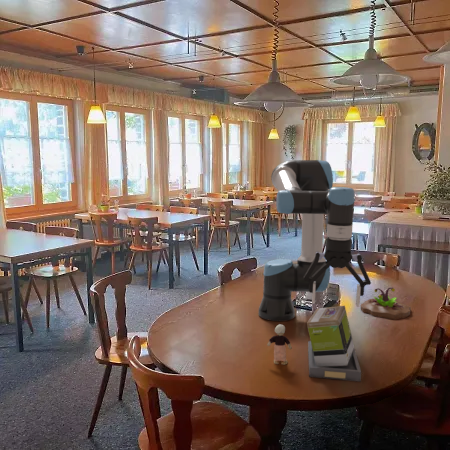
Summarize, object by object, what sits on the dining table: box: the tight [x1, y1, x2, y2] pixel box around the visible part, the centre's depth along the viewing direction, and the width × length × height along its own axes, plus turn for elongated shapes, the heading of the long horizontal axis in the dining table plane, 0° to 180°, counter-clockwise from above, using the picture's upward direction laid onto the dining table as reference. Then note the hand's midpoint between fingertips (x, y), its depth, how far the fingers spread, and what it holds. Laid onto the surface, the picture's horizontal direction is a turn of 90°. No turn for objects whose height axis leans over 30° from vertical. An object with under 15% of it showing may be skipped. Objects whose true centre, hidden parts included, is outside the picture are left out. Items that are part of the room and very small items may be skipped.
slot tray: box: [307, 340, 362, 382], centre depth 143 cm, size 15×20×3 cm
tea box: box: [306, 305, 355, 367], centre depth 143 cm, size 15×10×15 cm, turn 156°
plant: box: [360, 286, 412, 320], centre depth 195 cm, size 20×20×11 cm
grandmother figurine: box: [266, 323, 293, 366], centre depth 143 cm, size 8×4×13 cm, turn 88°
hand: (335, 304), depth 141 cm, fingers open, 13 cm apart
